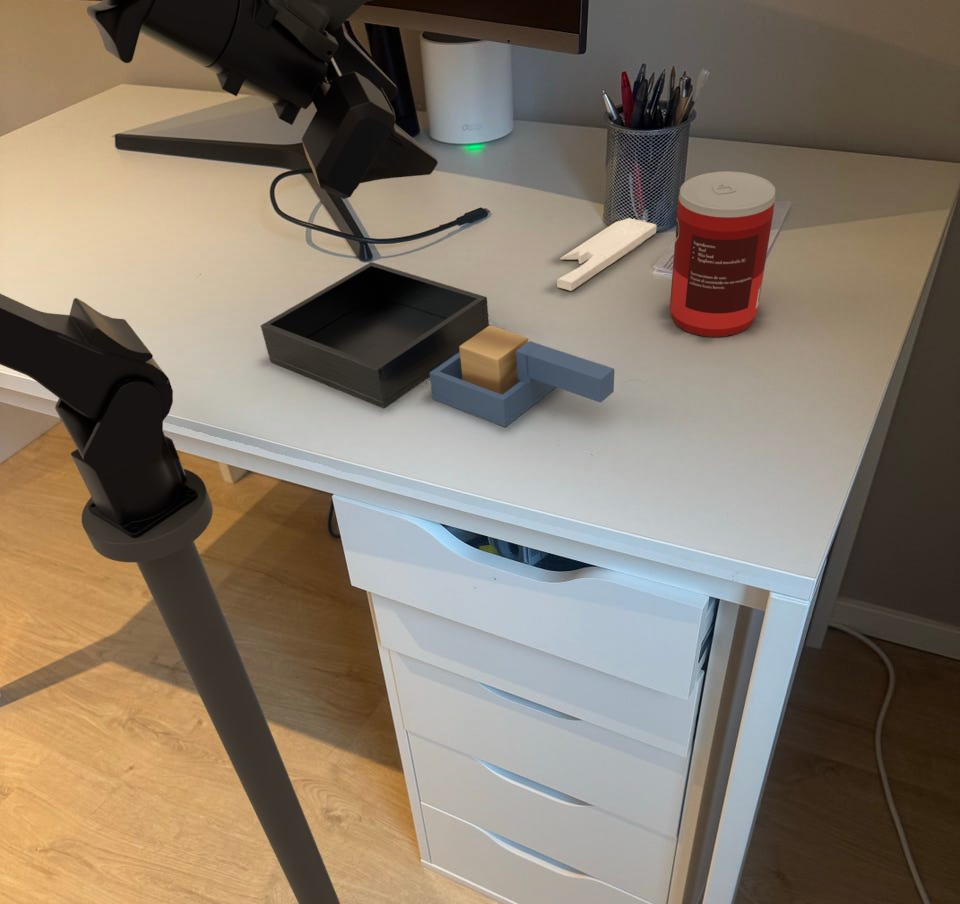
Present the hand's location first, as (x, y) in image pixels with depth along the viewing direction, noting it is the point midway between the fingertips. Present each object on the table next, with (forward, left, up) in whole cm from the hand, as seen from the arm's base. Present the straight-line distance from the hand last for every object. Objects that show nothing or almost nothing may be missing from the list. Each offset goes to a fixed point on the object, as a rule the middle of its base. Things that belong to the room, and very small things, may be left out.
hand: (413, 129), depth 67 cm
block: (-2, -8, -18) cm, 20 cm away
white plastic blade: (+23, -1, -19) cm, 30 cm away
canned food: (+18, -17, -19) cm, 31 cm away
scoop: (-2, -11, -18) cm, 22 cm away
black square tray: (-2, +6, -18) cm, 19 cm away
